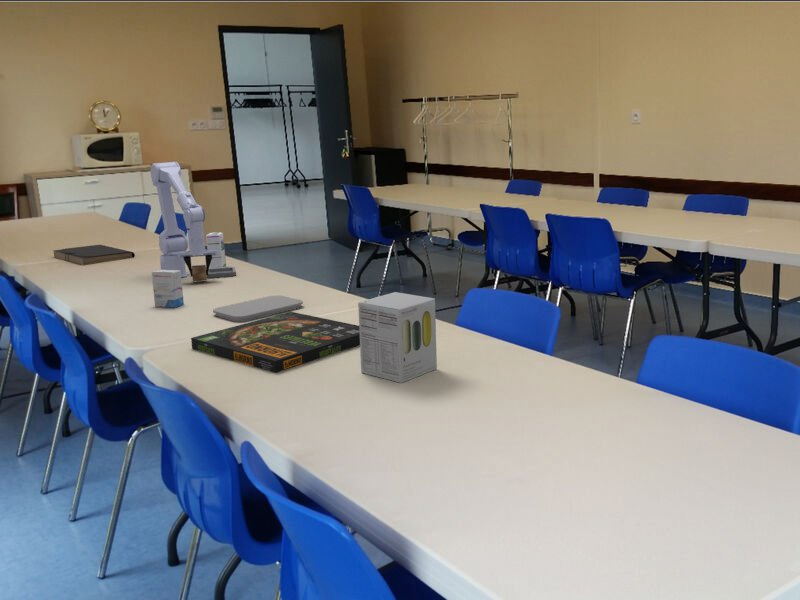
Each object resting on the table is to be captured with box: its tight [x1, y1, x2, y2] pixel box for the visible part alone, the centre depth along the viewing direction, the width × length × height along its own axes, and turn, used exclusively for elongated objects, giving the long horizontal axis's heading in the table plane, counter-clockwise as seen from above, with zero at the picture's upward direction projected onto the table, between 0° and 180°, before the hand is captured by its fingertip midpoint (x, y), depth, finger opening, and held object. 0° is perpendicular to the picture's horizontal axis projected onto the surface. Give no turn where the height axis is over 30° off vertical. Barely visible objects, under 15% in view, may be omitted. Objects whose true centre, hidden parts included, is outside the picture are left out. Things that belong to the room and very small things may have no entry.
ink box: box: [151, 269, 185, 308], centre depth 268 cm, size 9×5×12 cm, turn 71°
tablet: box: [212, 295, 304, 323], centre depth 258 cm, size 16×26×2 cm, turn 135°
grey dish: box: [207, 266, 237, 279], centre depth 318 cm, size 11×11×2 cm
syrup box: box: [205, 231, 227, 269], centre depth 331 cm, size 6×6×14 cm
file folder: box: [52, 244, 136, 266], centre depth 369 cm, size 33×4×24 cm
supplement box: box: [357, 291, 438, 384], centre depth 192 cm, size 13×13×18 cm
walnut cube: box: [191, 264, 208, 282], centre depth 304 cm, size 5×5×5 cm
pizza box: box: [190, 311, 360, 374], centre depth 220 cm, size 35×35×4 cm
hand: (199, 275), depth 305 cm, fingers closed on walnut cube, 5 cm apart
